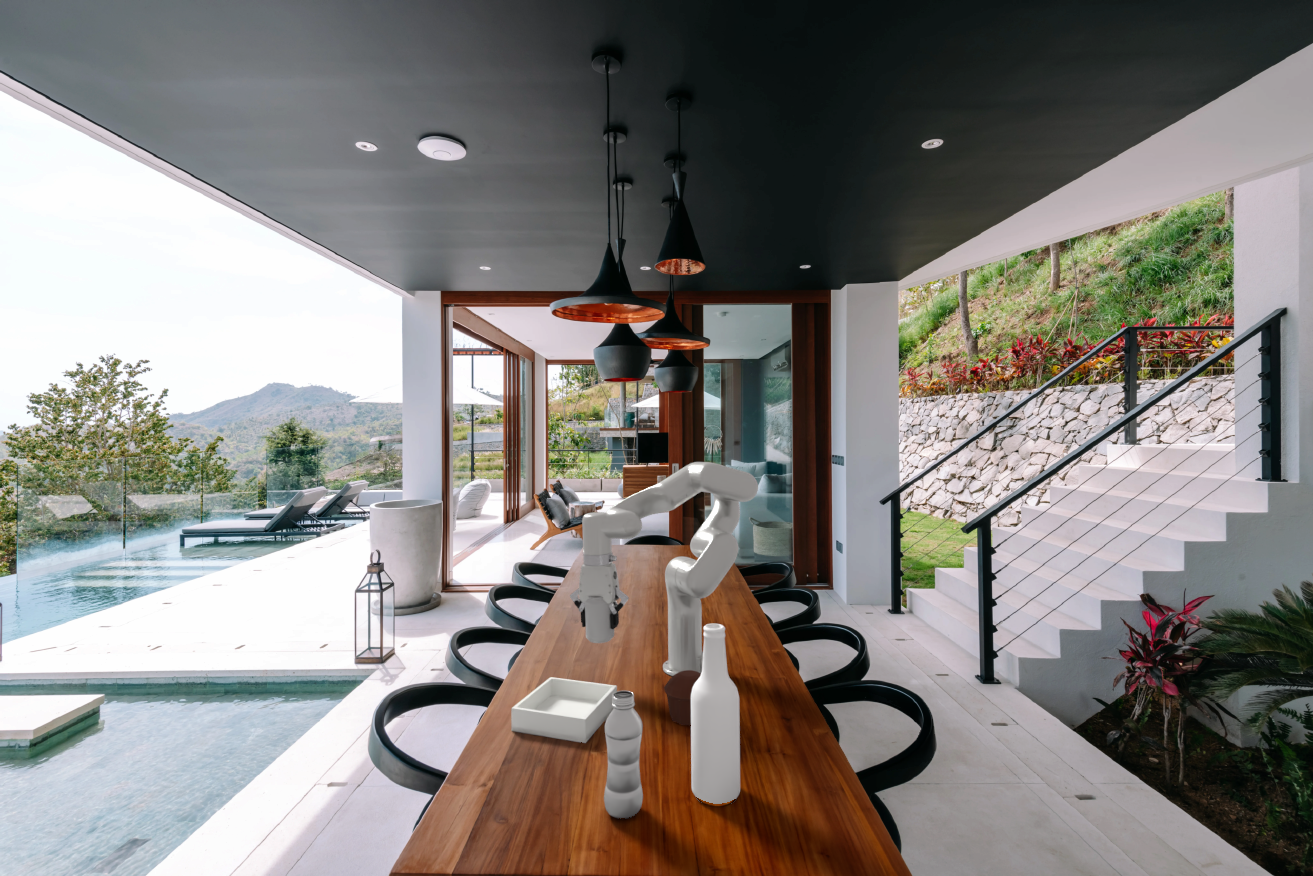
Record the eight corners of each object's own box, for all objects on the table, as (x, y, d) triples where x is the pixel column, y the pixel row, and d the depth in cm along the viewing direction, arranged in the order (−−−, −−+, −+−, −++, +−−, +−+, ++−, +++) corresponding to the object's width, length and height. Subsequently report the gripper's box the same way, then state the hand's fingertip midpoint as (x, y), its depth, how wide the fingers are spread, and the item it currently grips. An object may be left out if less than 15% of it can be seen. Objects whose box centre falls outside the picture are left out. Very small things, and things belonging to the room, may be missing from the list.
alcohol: (705, 813, 96) (704, 636, 97) (683, 785, 104) (681, 622, 105) (749, 800, 100) (748, 630, 100) (724, 774, 108) (722, 616, 109)
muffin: (688, 701, 140) (688, 660, 140) (723, 716, 132) (723, 673, 132) (653, 717, 131) (653, 674, 131) (689, 734, 123) (688, 688, 124)
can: (609, 645, 144) (608, 598, 144) (582, 643, 146) (580, 597, 146) (617, 635, 152) (616, 590, 152) (591, 634, 153) (589, 589, 153)
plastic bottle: (604, 801, 100) (603, 687, 100) (642, 799, 100) (641, 686, 101) (603, 826, 93) (603, 704, 94) (644, 823, 94) (643, 702, 94)
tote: (616, 706, 137) (616, 685, 137) (585, 743, 120) (585, 719, 120) (550, 697, 142) (550, 677, 143) (511, 731, 125) (511, 708, 125)
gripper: (633, 557, 150) (635, 624, 150) (574, 555, 155) (576, 620, 155) (623, 563, 143) (625, 633, 143) (561, 561, 148) (563, 629, 148)
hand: (599, 626), depth 149 cm, fingers closed on can, 7 cm apart
